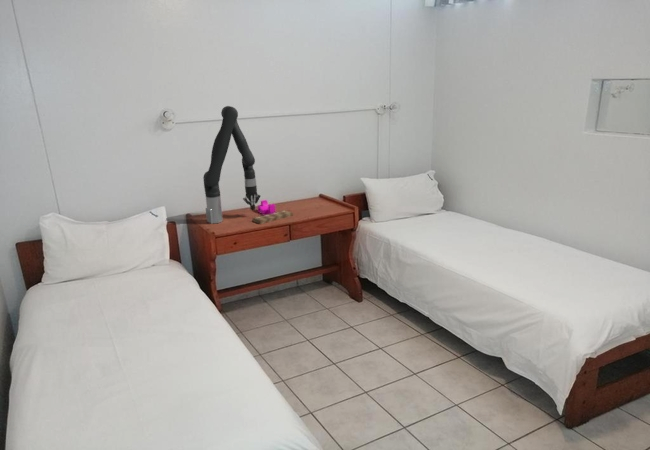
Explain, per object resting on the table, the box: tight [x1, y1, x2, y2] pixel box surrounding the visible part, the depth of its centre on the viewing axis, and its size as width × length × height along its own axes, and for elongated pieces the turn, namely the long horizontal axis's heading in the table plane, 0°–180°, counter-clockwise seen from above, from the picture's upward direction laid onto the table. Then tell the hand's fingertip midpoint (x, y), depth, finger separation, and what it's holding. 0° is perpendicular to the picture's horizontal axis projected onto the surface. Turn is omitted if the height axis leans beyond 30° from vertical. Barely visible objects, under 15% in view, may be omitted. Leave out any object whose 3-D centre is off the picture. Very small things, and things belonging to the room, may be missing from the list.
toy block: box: [257, 199, 276, 215], centre depth 321 cm, size 15×6×8 cm, turn 31°
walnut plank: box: [252, 209, 293, 225], centre depth 310 cm, size 26×9×2 cm, turn 131°
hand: (252, 210), depth 313 cm, fingers closed
